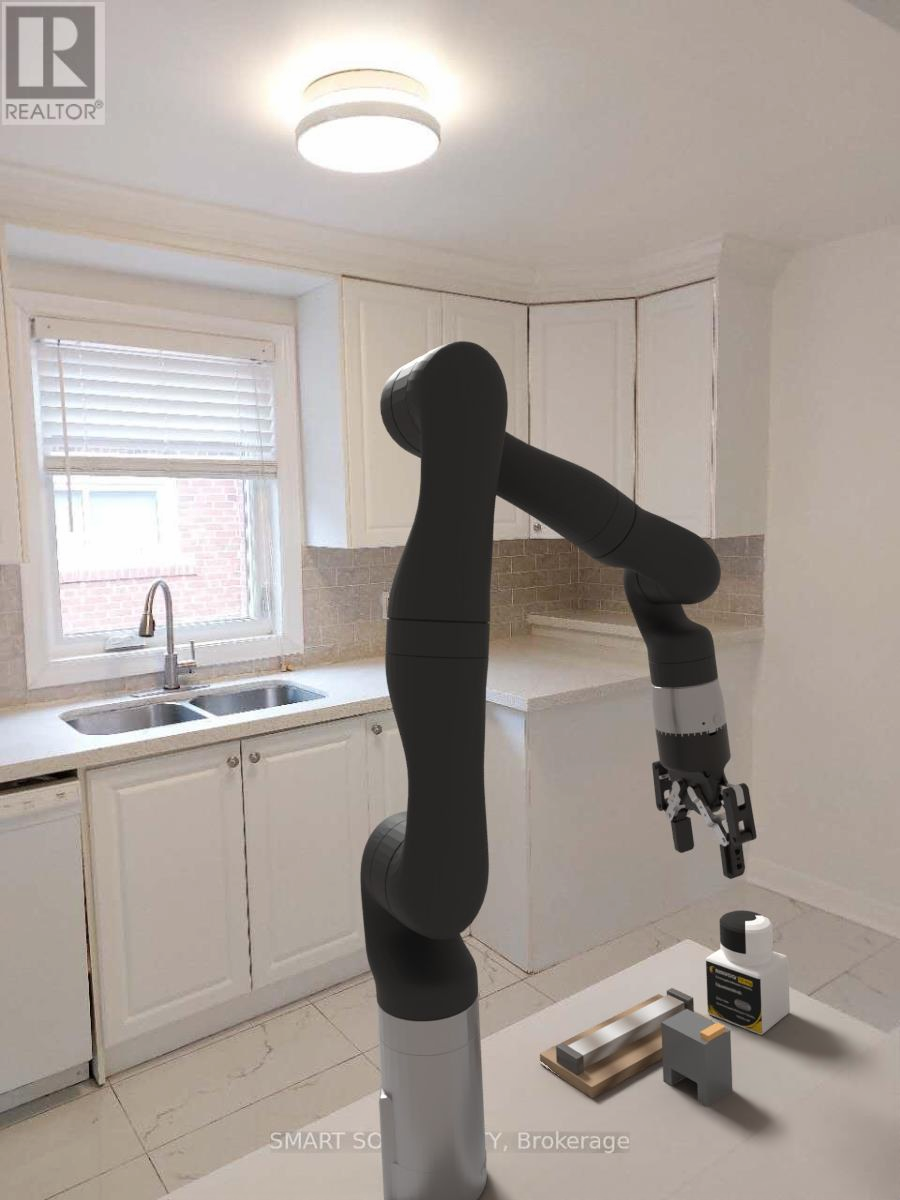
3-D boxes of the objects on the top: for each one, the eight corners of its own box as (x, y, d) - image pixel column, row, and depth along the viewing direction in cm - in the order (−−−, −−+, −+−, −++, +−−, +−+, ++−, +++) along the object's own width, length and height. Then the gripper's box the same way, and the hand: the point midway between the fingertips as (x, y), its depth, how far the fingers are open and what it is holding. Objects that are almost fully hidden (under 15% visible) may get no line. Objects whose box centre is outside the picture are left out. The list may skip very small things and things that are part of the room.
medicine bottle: (706, 1014, 103) (703, 917, 103) (736, 993, 108) (733, 900, 107) (761, 1036, 98) (758, 934, 97) (791, 1013, 103) (787, 915, 102)
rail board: (592, 1098, 88) (590, 1070, 88) (540, 1064, 95) (539, 1037, 94) (712, 1029, 100) (711, 1004, 100) (659, 1003, 106) (658, 979, 106)
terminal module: (707, 1106, 86) (704, 1038, 86) (663, 1080, 90) (661, 1016, 90) (732, 1090, 88) (730, 1024, 88) (688, 1065, 93) (686, 1003, 93)
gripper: (624, 717, 97) (643, 852, 99) (703, 741, 84) (723, 896, 86) (678, 703, 100) (696, 834, 102) (763, 724, 87) (781, 874, 88)
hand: (708, 862), depth 94 cm, fingers open, 8 cm apart
